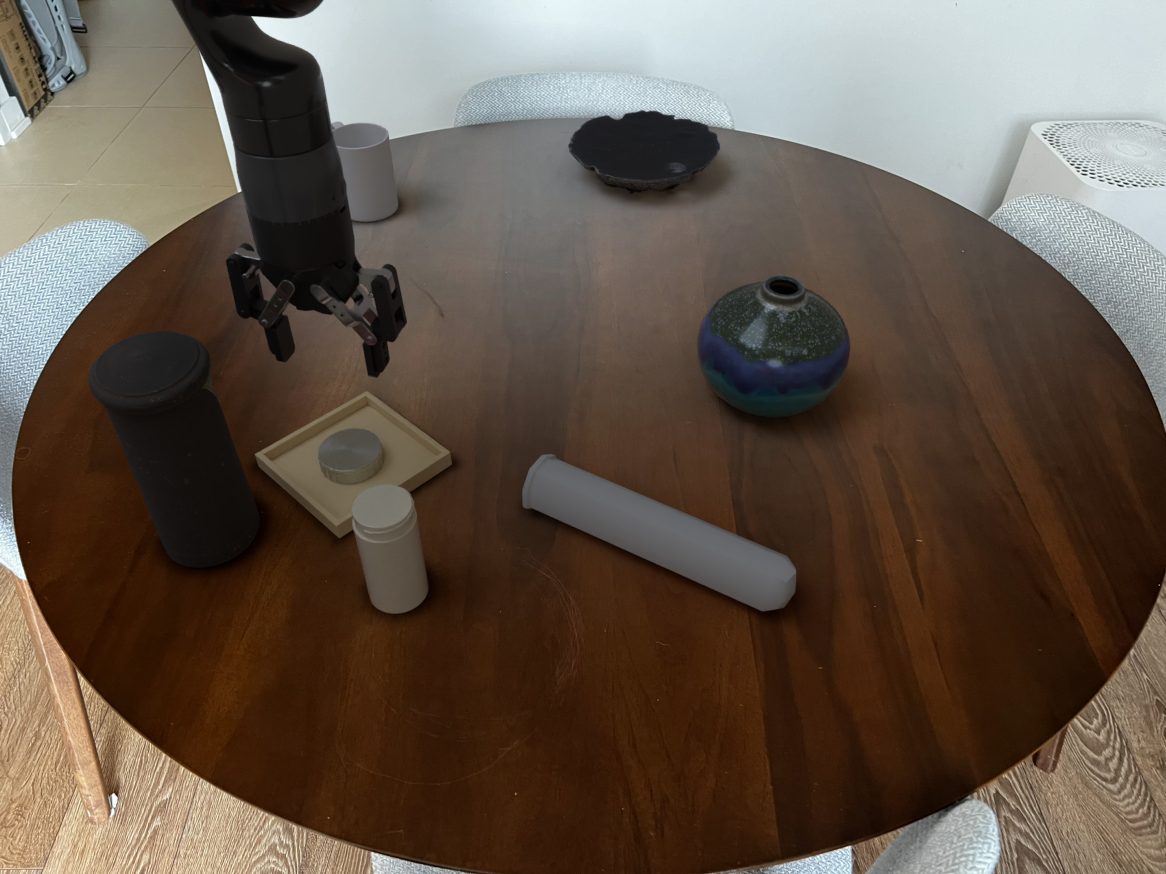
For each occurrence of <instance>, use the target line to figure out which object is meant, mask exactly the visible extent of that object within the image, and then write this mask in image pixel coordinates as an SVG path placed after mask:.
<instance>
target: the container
mask: <svg viewBox="0 0 1166 874" xmlns="http://www.w3.org/2000/svg"><path fill="white" fill-rule="evenodd" d="M210 370H211V356H210V353H209V351H208V349H207V347H206V346H205V345H204V343H202V342H201V341H200V340H198V339H197V338H195V337H193V336H191V335H188V334H185V333H181V332H176V331H168V330H167V331H166V330H158V331H148V332H142V333H138V334H134V335H132V336H130V337H129V336H128V337H126V338H124V339H121V340H119V341H118V342H115V343H114V344H112V345H111V346H109V347H108V348H107V349H105V350H104V352H102V353H101V354H100V355H99V356H98V357H97V358H96V359H95V360H94V362H93V363H92V366H91V367H90V369H89V373H88V386H89V390H90V392H91V393H92V395H93V396H94V398H95V399H96V400H97V401H98V402H99V403H100V404H101V405H102V406H103V407H104V408H105V411H106V413H107V416H108V417H109V420H110V422H111V424H112V426H113V429H114V431H115V434H116V436H117V438H118V440H119V443H120V445H121V447H122V449H123V452H124V456H125V458H126V460H127V462H128V465H129V467H130V469H131V471H132V474H133V477H134V479H135V481H136V483H137V486H138V488H139V490H140V493H141V496H142V498H143V501H144V502H145V505H146V507H147V510H148V513H149V514H150V517H151V519H152V522H153V524H154V526H155V529H156V531H157V534H158V536H159V538H160V541H161V543H162V545H163V548H164V549H165V550H164V551H166V553H167V555H168V557H169V558H170V559H171V560H172V561H174V562H175V563H176V564H178V565H181V566H183V567H187V568H197V569H198V568H199V569H201V568H202V569H203V568H211V567H215V566H218V565H221V564H225V562H229V561H230V560H233V559H234V558H236V557H237V556H239V555H240V554H242V552H244V551H245V550H246V549H247V548H248V547H249V546H250V545H251V543H252V542H253V541H254V540H255V538H256V536H257V534H258V532H259V529H260V523H261V518H260V517H261V516H260V513H259V511H258V507H257V504H256V501H255V498H254V495H253V493H252V490H251V487H250V485H249V482H248V478H247V476H246V473H245V471H244V467H243V464H242V462H241V459H240V456H239V454H238V451H237V448H236V446H235V443H234V440H233V438H232V434H231V432H230V429H229V425H228V423H227V420H226V417H225V414H224V412H223V408H222V406H221V402H220V400H219V397H218V395H217V391H216V388H215V386H214V385H215V384H214V382H213V379H212V376H211V374H210Z"/></svg>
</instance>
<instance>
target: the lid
mask: <svg viewBox="0 0 1166 874" xmlns="http://www.w3.org/2000/svg"><path fill="white" fill-rule="evenodd" d="M384 458H385V456H384V451H383V448H382V443H381V441H380V439H379V438H378V437H377V436H376V435H375V434H374V433H372V432H370V431H368V430H365V429H357V428H354V429H345V430H341V431H338V432H336V433H334V434H332V435H330V436H329V437H327V438H326V439H325V440H324V441H323V442H322V444H321V445H320V447H319V450H318V460H319V464H320V468H321V472H323V474H324V475H325V477H327V478H328V479H329V480H330V481H333V482H336V483H339V484H356V483H360V482H363V481H366V480H368V479H370V478H371V477H373V476H374V475H376V474H377V473H378V472H379V470H380V469H381V468H382V465H383V463H384Z"/></svg>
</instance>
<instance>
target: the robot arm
mask: <svg viewBox="0 0 1166 874" xmlns="http://www.w3.org/2000/svg"><path fill="white" fill-rule="evenodd" d="M170 1H171V3H172V5H173V7H174V8H175V10H176V12H177V14H178V15H179V17H180V19H181V21H182V22H183V24H184V26H185V28H186V30H187V31H188V33H189V35H190V37H191V39H192V41H193V43H194V44H195V46H196V48H197V49H198V52H199V54H200V56H201V58H202V60H203V61H204V64H205V65H206V67H207V69H208V71H209V73H210V74H211V76H212V78H213V80H214V82H215V84H216V86H217V88H218V91H219V94H220V97H221V101H222V106H223V109H224V113H225V118H226V122H227V126H228V130H229V133H230V137H231V141H232V147H233V150H234V151H233V152H234V157H235V158H234V159H235V169H236V176H237V180H238V184H239V187H240V192H241V195H242V199H243V202H244V207H245V211H246V215H247V219H248V223H249V226H250V230H251V235H252V239H253V242H254V246H255V248H254V247H253V246H252V245H251V244H250V243H248V242H243V243H241V244H240V245H239V246H238V247H237V248H236V249H235V251H233V252H232V253H231V255H229V256H228V257H227V258H226V260H225V266H226V269H227V270H226V271H227V274H228V279H229V282H230V287H231V291H232V297H233V300H234V306H235V309H236V313H237V315H238V316H239V317H240V318H242V319H244V320H248V319H250V318H251V319H254V320H256V321H257V323H258V324H259V325H260V326H261V327H262V328H263V331H264V334H265V338H266V342H267V345H268V349H269V351H270V353H271V354H272V355H274V356H275V360H276V361H277V362H279V363H280V362H281V363H287V362H288V361H289V360H290V359H291V357H292V356H293V354H294V353H295V351H296V344H295V340H294V335H293V332H292V328H291V324H290V319H289V316H288V315H287V314H283V313H284V312H285V311H286V309H287V308H288V306H289V305H291V306H293V307H295V309H296V311H301V312H308V311H309V312H310V311H314V312H318V313H320V314H322V315H328V316H332V315H334V316H335V318H336V319H337V320H338V321H339V322H340V323H341V324H342V325H343V326H345V327H346V328H351V329H352V330H353V331H354V332H355V333H356V334H357V335H358V336H359V338H361V339H362V341H363V342H362V344H361V346H362V350H363V357H364V362H365V366H366V373H367V377H370V378H376V379H378V378H379V376H380V375H381V374H383V373H384V371H385V369H386V368H387V366H388V365H389V363H390V360H391V357H390V350H389V344H388V343H394V342H396V340H397V339H398V338H399V335H400V334H401V332H402V331H403V329H404V328H405V326H407V323H408V320H407V319H408V318H407V315H406V310H405V304H404V299H403V296H402V295H403V294H402V291H401V285H400V280H399V275H398V271H397V269H396V267H395V266H394V265H393V264H392V263H391V264H390V263H385V264H383V266H382V267H381V268H379V269H378V268H368V267H363V266H362V265H361V263H360V262H359V260H358V259H357V256H356V241H355V233H354V227H353V222H352V221H353V220H351V215H350V209H349V203H348V198H347V192H346V190H347V187H346V181H345V179H344V174H343V169H342V163H341V159H340V155H339V152H338V149H337V146H336V143H335V140H334V136H333V132H332V126H331V124H332V122H331V120H332V119H331V115H330V110H329V102H328V98H327V93H326V87H325V81H324V75H323V72H322V69H321V66H320V64H319V62H318V60H317V59H316V57H315V56H314V55H313V54H312V53H311V52H309V51H308V50H306V49H304V48H302V47H301V46H300V47H299V46H297V45H295V44H292V43H289V42H285V41H283V40H280V39H277V38H275V37H273V36H272V35H271V36H270V34H268V33H266V32H264V31H263V30H262V29H261V28H260V26H259V25H258V24H257V23H256V21H255V20H254V18H253V17H256V18H268V19H282V20H283V19H285V20H286V19H287V20H291V19H292V20H293V19H299V18H303V17H305V16H308V15H309V14H311V13H313V12H314V11H315V10H316V9H318V8H319V7H320V6H321V4H322V3H323V2H324V1H325V0H170ZM260 272H261V274H262V275H263V277H265V278H266V279H267V280H268V282H270V284H271V285H272V287H274V288H275V291H274V293H273V294H272V295H271V297H270V298H269V300H266V299H265V298H264V292H263V287H262V282H261V276H260ZM361 285H362V286H364V287H365V288H366V289H367V291H366V290H365V289H364V288H363V287H362V286H361ZM350 299H351V300H352V301H353V306H352V307H351V309H350V308H349V306H347V303H348V301H349V300H350ZM373 301H374V303H373ZM373 304H374V305H375V306H374V305H373Z"/></svg>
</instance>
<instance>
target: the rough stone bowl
mask: <svg viewBox="0 0 1166 874" xmlns="http://www.w3.org/2000/svg"><path fill="white" fill-rule="evenodd" d="M675 116H676V114H664V113H662V112H660V111H658V110H651V109H650V110H647V111H646V110H644V109H641V110H638V111H631V112H626V113H624V114H623V115H622V117H621V118H619V119H616V118H613V117H612V116H610V115H608V114H605V115H601V116H596V117H592V118H590V119H588V120H586V121H585V122H584V123H582V124H581V125H580V127H579V129H577V130H575V131H574V132H573V134H572V136H571V137H570V139H569V143H568V144H567V148H568V152H569V154H570V155H571V156H572V157H573V158H574V159H575V161H577V162H578V163H579V164H580V165H581V166H582V167H583V168H584V169H585V170H587V171H590V172H595V174H596V176H597V178H598V180H599V181H600V182H601V183H603V184H604V185H605V186H607V187H608V188H616V189H617V188H619V189H622V190H626V191H627V193H628V194H630V195H631V194H641V193H645V192H663V193H664V192H667V191H672V190H674V189H675V188H677V187H679V186H681V185H684V183H686V182H688V181H690V180H691V179H693V178H694V177H695V176H696V175H697V174H698V173H700V172H703V171H705V169H706V168H707V167H708V166H709V165H711V163H712V162H713V161H714V160H715V158H716V157H717V156H718V154H719V152H720V151H721V142H719V139H718V134H717V133H716V132H715V131H711V130H709V129H710V127H709V125H708V124H706V123H702V122H701V121H697V120H695V121H694V120H692V119H691V118H675Z"/></svg>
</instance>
